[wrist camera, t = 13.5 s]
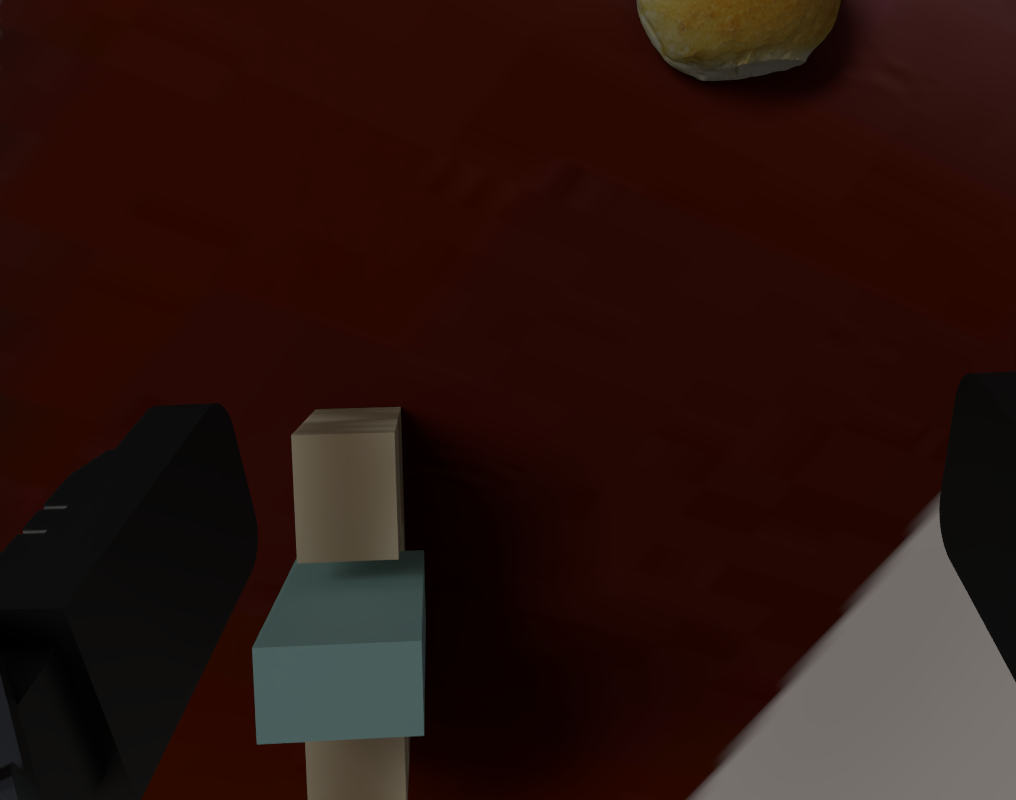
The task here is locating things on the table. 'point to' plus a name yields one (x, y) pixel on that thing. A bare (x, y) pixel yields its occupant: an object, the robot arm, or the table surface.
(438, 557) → the table surface
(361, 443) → the slot plate
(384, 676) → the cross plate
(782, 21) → the bread roll
